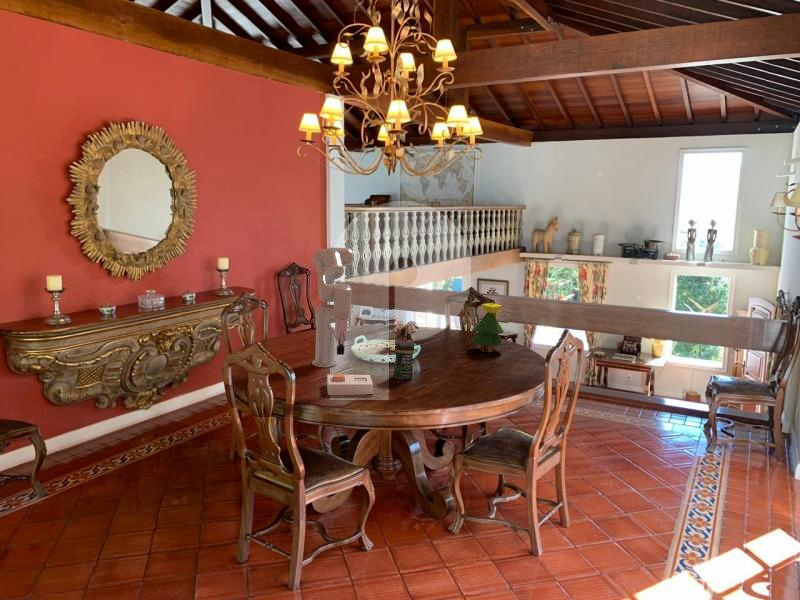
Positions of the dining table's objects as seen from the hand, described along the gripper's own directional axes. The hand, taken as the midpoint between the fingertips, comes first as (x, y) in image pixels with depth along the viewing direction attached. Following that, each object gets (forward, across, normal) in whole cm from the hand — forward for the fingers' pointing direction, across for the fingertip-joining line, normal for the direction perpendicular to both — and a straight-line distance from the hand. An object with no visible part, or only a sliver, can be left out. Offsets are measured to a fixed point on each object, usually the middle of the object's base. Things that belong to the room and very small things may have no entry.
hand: (340, 354), depth 269 cm
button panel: (+17, 0, +5) cm, 18 cm away
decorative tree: (+17, -68, +92) cm, 116 cm away
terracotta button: (+13, 0, 0) cm, 13 cm away
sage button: (+16, 0, +10) cm, 19 cm away
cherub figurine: (+17, -72, +43) cm, 86 cm away
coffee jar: (+17, -18, +33) cm, 41 cm away
